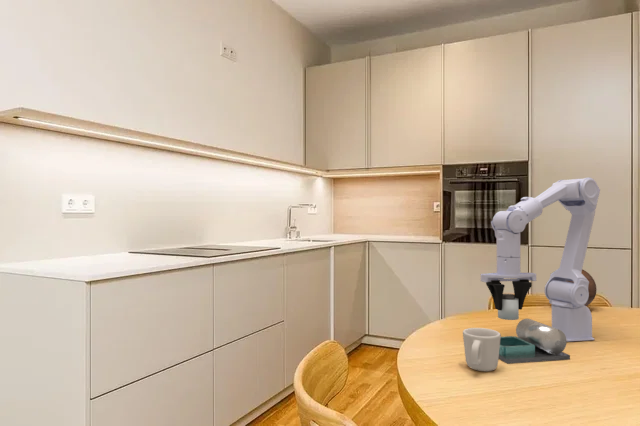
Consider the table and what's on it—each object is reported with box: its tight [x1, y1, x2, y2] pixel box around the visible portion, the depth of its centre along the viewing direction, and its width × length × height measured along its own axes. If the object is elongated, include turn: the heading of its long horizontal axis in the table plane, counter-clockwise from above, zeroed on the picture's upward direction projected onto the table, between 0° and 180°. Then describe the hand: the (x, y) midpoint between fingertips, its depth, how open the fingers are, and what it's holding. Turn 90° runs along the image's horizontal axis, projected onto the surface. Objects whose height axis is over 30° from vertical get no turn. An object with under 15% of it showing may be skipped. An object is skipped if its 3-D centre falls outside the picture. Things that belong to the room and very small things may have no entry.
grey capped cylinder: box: [497, 293, 520, 321], centre depth 117 cm, size 5×5×6 cm
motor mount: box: [498, 318, 571, 365], centre depth 110 cm, size 16×13×7 cm
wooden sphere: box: [568, 268, 597, 307], centre depth 161 cm, size 15×15×15 cm
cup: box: [462, 327, 502, 372], centre depth 99 cm, size 11×8×8 cm
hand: (508, 309), depth 116 cm, fingers closed on grey capped cylinder, 5 cm apart
